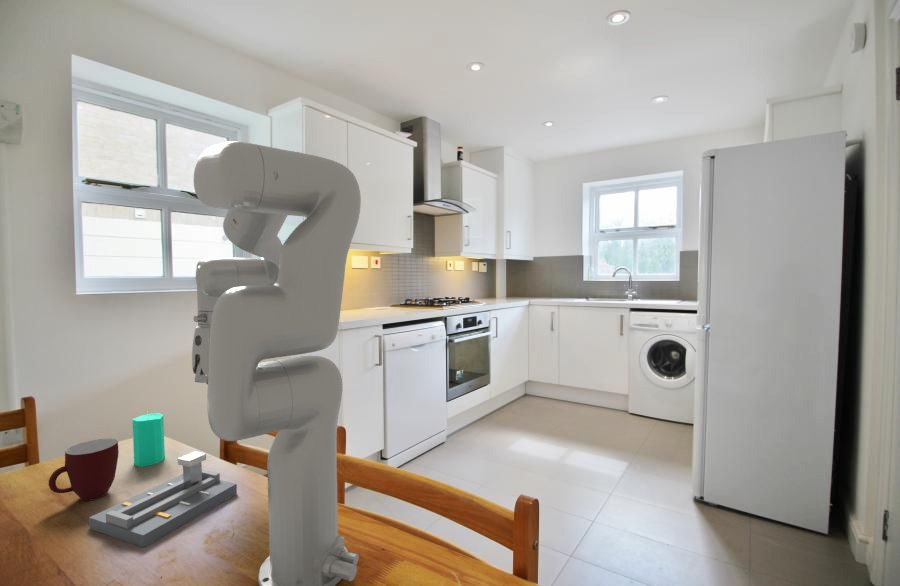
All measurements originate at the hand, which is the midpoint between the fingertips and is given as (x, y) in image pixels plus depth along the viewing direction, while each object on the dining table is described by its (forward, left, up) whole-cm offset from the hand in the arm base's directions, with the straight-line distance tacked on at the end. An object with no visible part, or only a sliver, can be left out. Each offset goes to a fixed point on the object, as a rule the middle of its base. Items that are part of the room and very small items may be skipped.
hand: (220, 404), depth 90 cm
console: (0, +12, -16) cm, 20 cm away
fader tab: (0, +7, -14) cm, 16 cm away
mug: (+19, +15, -16) cm, 29 cm away
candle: (+25, -1, -17) cm, 30 cm away
